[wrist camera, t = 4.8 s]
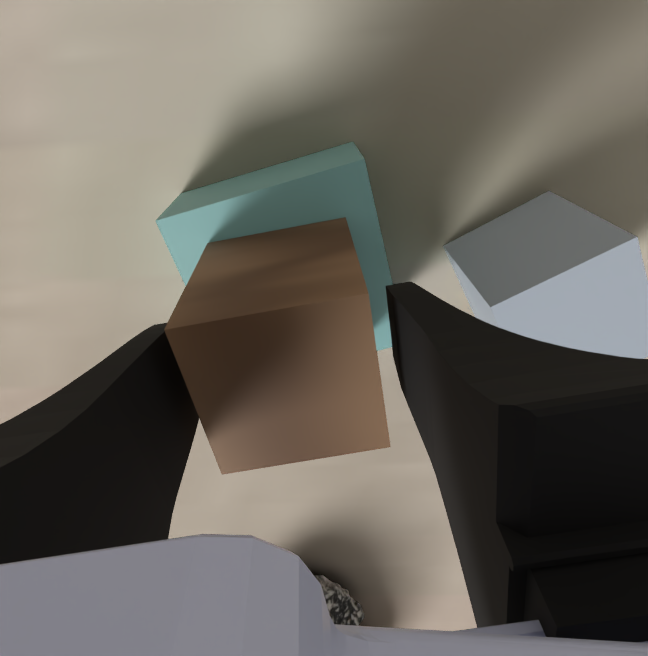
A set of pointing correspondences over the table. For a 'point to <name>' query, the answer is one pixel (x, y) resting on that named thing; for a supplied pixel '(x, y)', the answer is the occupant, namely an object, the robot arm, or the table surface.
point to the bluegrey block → (557, 277)
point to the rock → (340, 603)
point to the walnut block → (281, 348)
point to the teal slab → (287, 215)
